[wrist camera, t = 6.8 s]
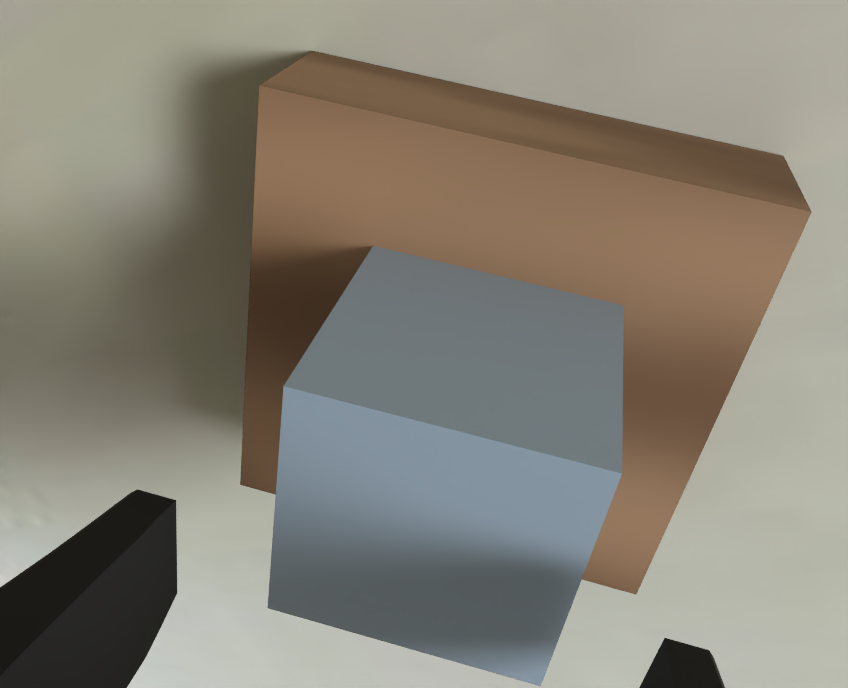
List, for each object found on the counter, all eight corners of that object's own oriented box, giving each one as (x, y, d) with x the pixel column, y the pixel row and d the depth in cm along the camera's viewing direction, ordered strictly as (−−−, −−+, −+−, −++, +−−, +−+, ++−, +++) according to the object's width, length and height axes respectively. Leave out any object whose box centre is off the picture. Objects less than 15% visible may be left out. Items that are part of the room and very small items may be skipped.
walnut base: (635, 508, 22) (636, 594, 19) (282, 414, 23) (240, 484, 20) (783, 156, 16) (811, 212, 14) (312, 51, 17) (259, 85, 15)
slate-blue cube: (560, 494, 18) (540, 686, 14) (347, 438, 19) (267, 607, 15) (623, 305, 16) (622, 473, 11) (373, 245, 16) (283, 386, 12)
